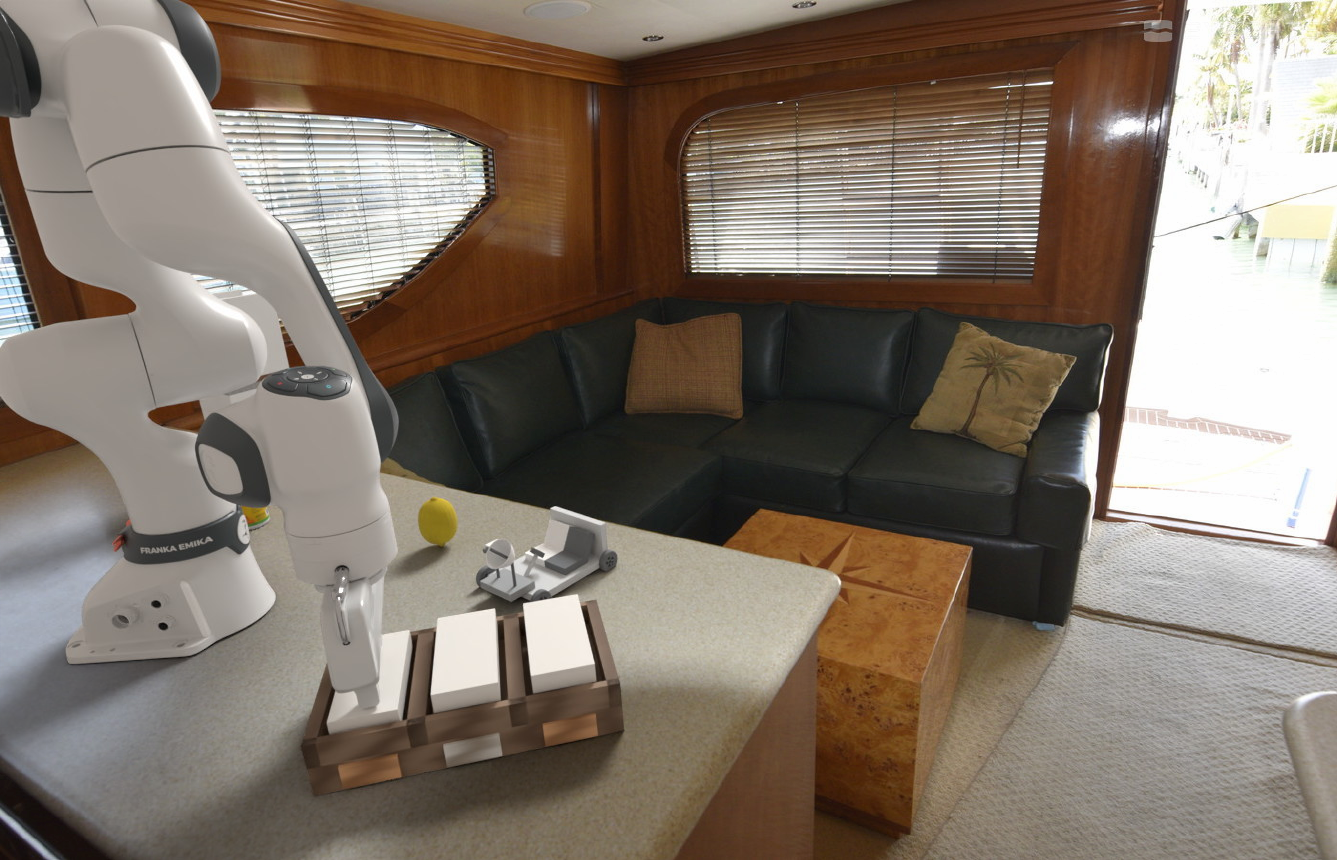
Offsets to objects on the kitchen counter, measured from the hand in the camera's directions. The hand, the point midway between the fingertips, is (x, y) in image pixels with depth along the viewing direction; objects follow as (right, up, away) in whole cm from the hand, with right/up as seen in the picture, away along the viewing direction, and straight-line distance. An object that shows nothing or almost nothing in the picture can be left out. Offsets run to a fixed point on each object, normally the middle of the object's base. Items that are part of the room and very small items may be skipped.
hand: (372, 672), depth 72 cm
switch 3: (+17, +1, +4) cm, 18 cm away
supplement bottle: (-40, +8, +50) cm, 65 cm away
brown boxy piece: (+9, -5, +4) cm, 11 cm away
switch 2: (+9, 0, +2) cm, 9 cm away
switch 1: (0, -2, +1) cm, 2 cm away
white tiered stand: (-46, +13, +68) cm, 83 cm away
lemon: (-5, +6, +39) cm, 40 cm away
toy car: (+12, +3, +28) cm, 31 cm away
